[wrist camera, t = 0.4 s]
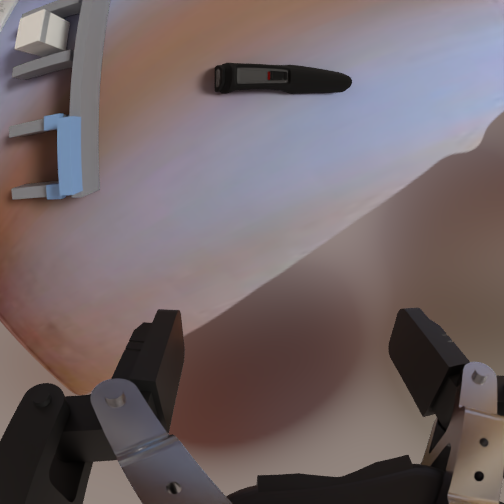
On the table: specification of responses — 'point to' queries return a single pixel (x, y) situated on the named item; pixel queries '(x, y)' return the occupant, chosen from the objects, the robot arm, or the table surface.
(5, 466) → the robot arm
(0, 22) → the external hard drive
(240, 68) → the electric trimmer
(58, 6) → the rack
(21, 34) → the cream white box
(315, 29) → the table surface
